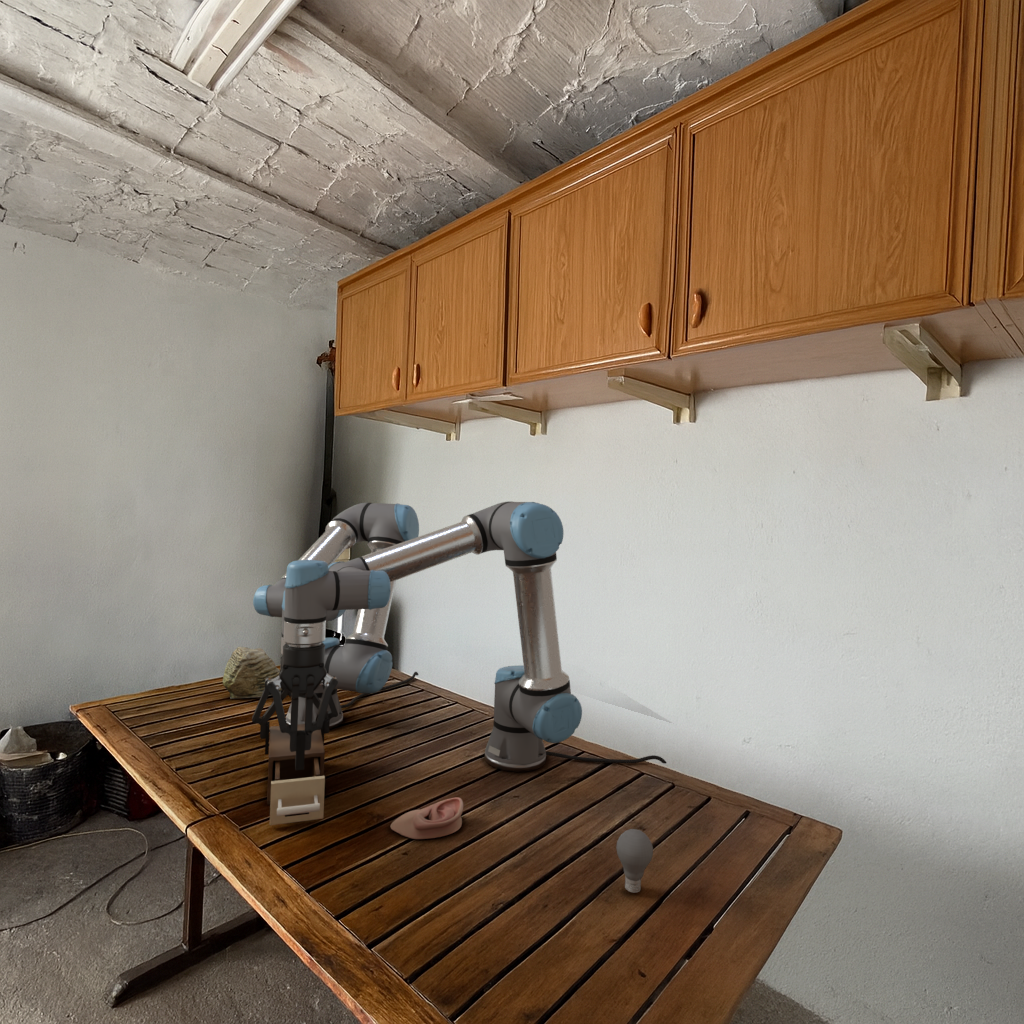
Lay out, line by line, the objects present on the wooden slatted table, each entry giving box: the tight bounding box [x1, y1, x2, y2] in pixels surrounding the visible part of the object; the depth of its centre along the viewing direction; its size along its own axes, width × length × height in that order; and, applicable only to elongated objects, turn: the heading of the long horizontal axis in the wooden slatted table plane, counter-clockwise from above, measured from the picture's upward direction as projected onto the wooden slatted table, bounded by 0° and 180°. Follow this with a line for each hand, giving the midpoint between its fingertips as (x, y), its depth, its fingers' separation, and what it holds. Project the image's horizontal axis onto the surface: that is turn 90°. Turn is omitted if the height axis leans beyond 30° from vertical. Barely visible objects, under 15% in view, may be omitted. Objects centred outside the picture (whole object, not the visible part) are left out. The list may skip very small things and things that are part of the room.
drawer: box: [269, 757, 326, 826], centre depth 127 cm, size 22×10×8 cm, turn 20°
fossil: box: [222, 646, 282, 699], centre depth 198 cm, size 9×18×15 cm, turn 132°
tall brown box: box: [266, 724, 326, 805], centre depth 140 cm, size 18×11×10 cm, turn 20°
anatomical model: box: [390, 797, 464, 840], centre depth 124 cm, size 13×4×12 cm
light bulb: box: [615, 828, 654, 894], centre depth 106 cm, size 6×6×10 cm
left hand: (294, 749), depth 145 cm, fingers open, 11 cm apart
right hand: (299, 767), depth 119 cm, fingers closed
